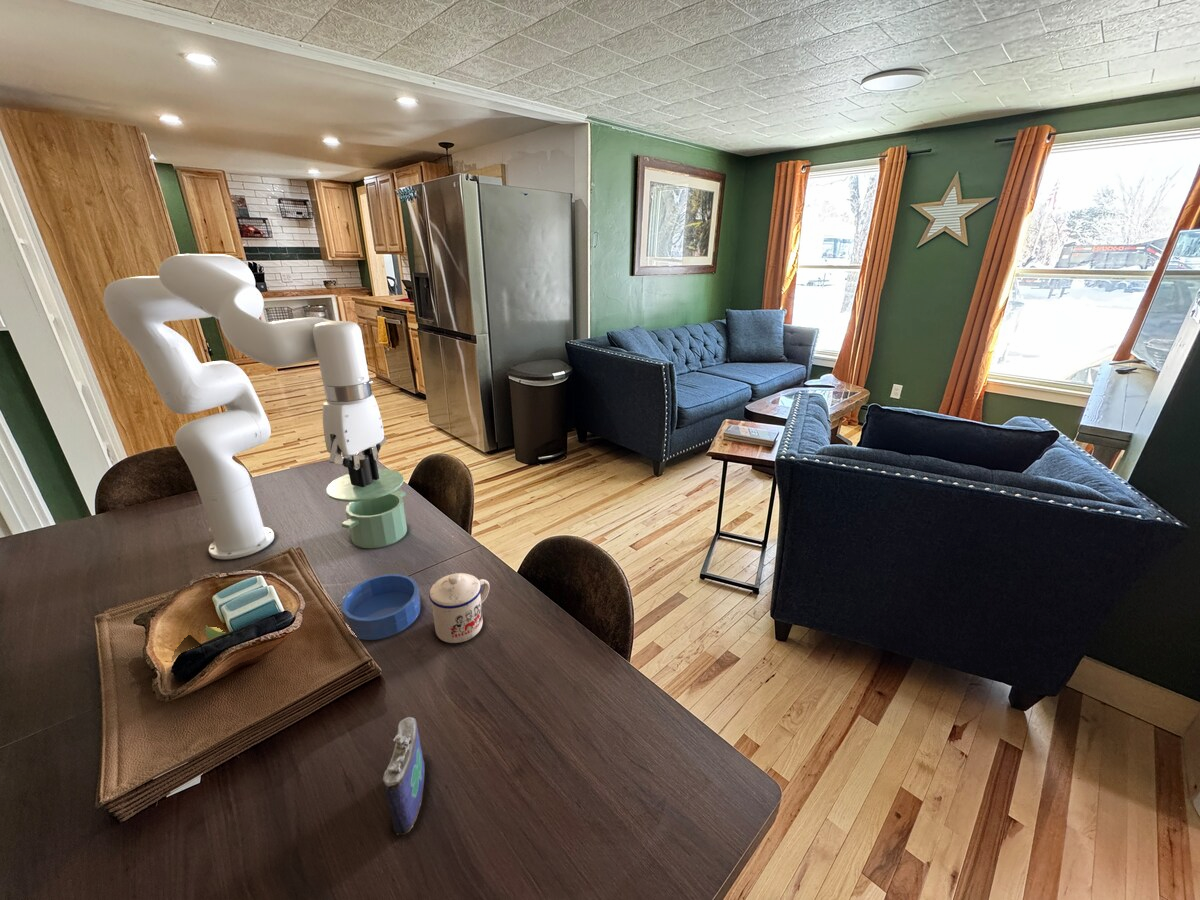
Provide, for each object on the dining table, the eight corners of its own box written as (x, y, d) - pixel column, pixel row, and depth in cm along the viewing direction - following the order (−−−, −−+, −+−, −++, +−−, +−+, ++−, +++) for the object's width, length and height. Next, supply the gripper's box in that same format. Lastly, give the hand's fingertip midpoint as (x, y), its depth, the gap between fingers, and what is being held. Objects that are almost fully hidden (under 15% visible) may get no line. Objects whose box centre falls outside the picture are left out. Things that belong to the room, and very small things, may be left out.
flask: (407, 762, 65) (397, 706, 61) (429, 759, 66) (421, 704, 62) (390, 837, 57) (376, 779, 53) (415, 834, 57) (404, 775, 53)
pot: (330, 547, 112) (323, 516, 109) (386, 512, 128) (382, 484, 125) (372, 559, 108) (366, 527, 105) (424, 521, 124) (421, 493, 121)
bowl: (329, 628, 88) (324, 608, 87) (382, 585, 100) (379, 567, 98) (385, 648, 84) (382, 628, 82) (434, 601, 96) (432, 583, 94)
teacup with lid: (454, 653, 83) (448, 600, 79) (424, 629, 88) (416, 578, 84) (505, 615, 92) (502, 566, 88) (475, 596, 97) (470, 548, 93)
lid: (310, 497, 90) (302, 465, 87) (365, 469, 102) (360, 440, 99) (367, 510, 85) (361, 477, 83) (418, 479, 98) (414, 450, 95)
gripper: (366, 379, 94) (380, 463, 101) (293, 400, 80) (315, 496, 87) (396, 383, 92) (409, 469, 99) (327, 405, 78) (347, 503, 85)
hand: (365, 481), depth 93 cm, fingers closed on lid, 2 cm apart
